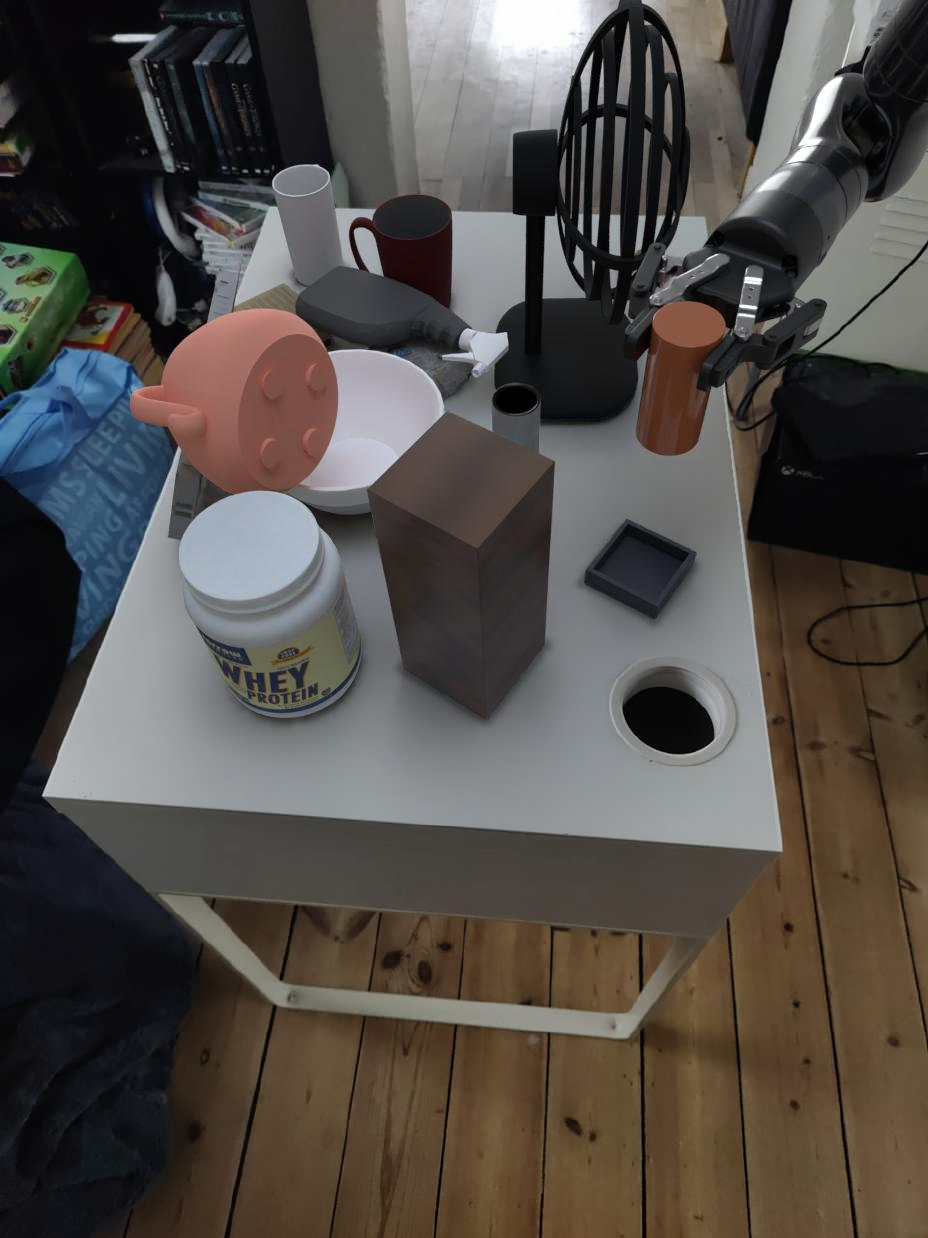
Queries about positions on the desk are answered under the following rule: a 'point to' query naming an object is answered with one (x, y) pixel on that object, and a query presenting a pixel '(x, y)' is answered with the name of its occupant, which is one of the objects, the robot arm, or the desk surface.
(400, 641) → the plant stand
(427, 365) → the stone
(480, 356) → the spray bottle
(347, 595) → the supplement tub
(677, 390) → the copper brown cylinder
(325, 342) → the ink box
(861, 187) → the robot arm
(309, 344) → the teapot
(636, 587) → the tray
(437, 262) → the mug
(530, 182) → the desk fan
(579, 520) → the desk surface
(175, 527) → the building model
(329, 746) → the desk surface
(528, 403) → the gray hollow tube
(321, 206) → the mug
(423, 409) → the bowl
